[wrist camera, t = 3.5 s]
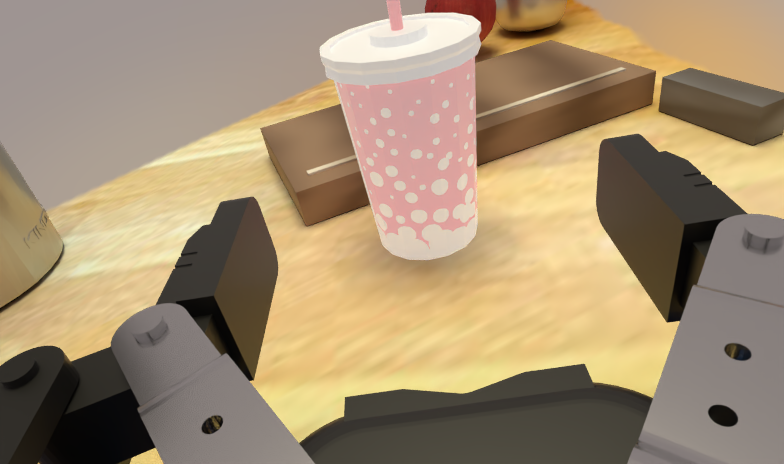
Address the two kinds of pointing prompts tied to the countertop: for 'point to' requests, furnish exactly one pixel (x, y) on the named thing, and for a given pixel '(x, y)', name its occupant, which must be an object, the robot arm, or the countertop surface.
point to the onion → (467, 11)
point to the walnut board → (523, 117)
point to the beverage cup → (413, 125)
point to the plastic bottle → (529, 14)
